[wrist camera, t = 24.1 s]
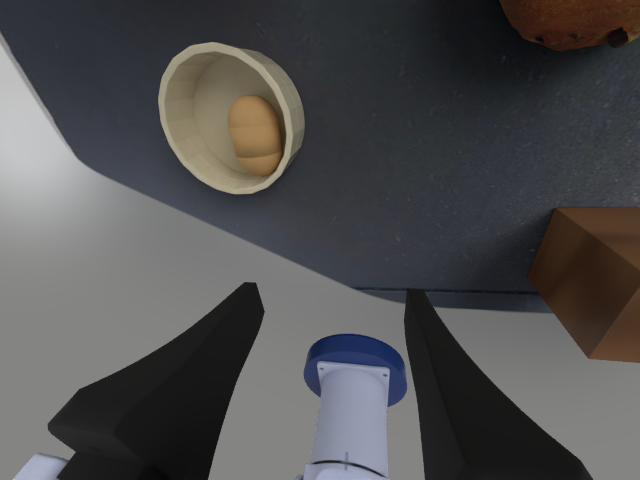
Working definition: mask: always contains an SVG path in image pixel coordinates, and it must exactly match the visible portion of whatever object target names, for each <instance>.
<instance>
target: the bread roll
mask: <svg viewBox="0 0 640 480" xmlns="http://www.w3.org/2000/svg"><path fill="white" fill-rule="evenodd" d="M499 1H500V3H501V6H502V8H503V11H504V13H505V14H506V16H507V18H508V20H509V22H510V24H511V26H512V27H513V28H515V29H516V30H517V31H518V32H519V34H520V35H521V36H522V37H523V38H524V39H526V40H528V41H531V42H535V43H540V44H542V45H544V46H546V47H548V48H550V49H552V50H557V51H562V52H563V51H564V50H570V49H579V48H582V47H590V46H595V45H600V44H604V43H609V45H610V47H614V48H617V47H620V46H623V45H626V44H628V43H629V42H631V41H632V40H634V39H635V38H637V37H639V36H640V0H499Z"/></svg>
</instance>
